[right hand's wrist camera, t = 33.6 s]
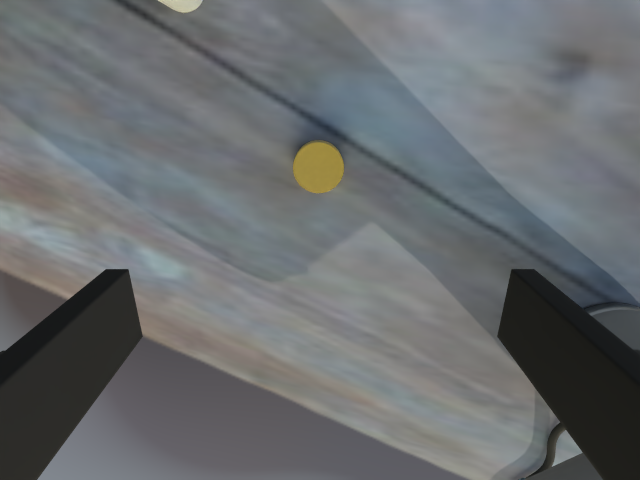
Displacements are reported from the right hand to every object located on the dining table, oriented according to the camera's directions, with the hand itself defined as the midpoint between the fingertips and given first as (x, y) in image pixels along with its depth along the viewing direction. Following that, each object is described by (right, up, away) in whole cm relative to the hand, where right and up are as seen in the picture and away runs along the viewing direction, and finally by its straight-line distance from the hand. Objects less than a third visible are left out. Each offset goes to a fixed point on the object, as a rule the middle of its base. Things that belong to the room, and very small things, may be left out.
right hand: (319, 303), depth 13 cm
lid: (0, +9, +23) cm, 25 cm away
